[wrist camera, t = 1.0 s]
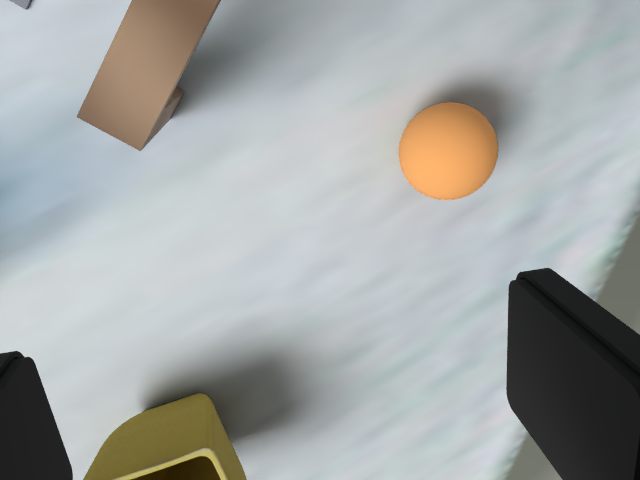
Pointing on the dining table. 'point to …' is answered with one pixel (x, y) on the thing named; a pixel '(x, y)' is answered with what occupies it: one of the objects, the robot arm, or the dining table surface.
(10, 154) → the dining table surface
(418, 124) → the ball
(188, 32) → the bridge
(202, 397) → the flower pot
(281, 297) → the dining table surface
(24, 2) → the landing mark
